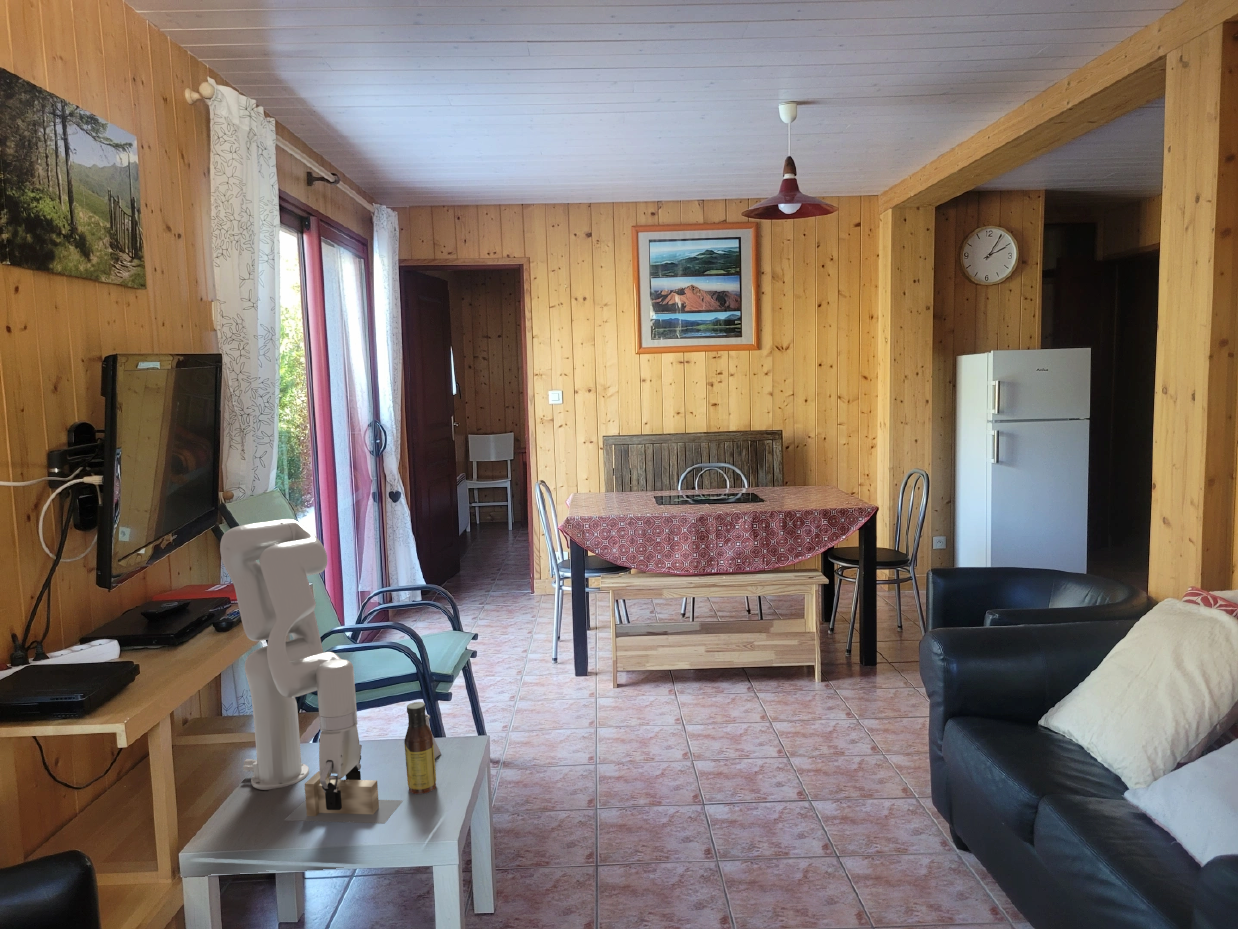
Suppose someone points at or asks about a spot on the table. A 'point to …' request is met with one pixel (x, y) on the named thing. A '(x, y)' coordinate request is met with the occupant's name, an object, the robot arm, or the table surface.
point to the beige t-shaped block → (343, 796)
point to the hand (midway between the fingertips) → (344, 798)
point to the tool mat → (379, 816)
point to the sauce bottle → (419, 751)
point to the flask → (436, 748)
